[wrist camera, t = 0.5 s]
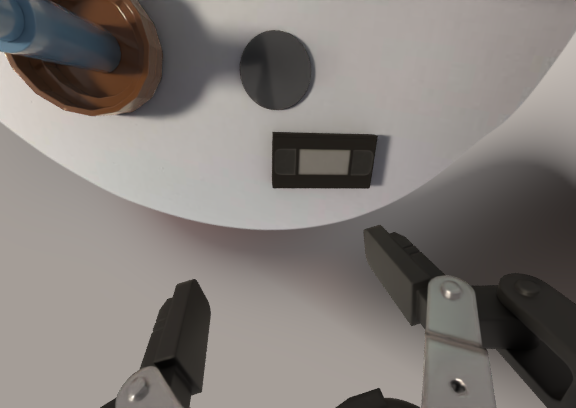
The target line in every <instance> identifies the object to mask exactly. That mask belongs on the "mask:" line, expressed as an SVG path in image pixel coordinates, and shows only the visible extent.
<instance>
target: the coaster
mask: <svg viewBox="0 0 576 408" xmlns="http://www.w3.org/2000/svg"><path fill="white" fill-rule="evenodd" d="M240 76H241V80H242V84H243V86H244V89H245V90H246V92H247V94H248V95H249V96H250V98H251V99H252V100H253V101H255V102H256V103H257V104H259V105H260V106H262V107H264V108H267V109H272V110H282V109H286V108H288V107H291V106H293V105H294V104H296V103H297V102H298V101H299V100H300V99H301V98H302V97H303V95H304V94H305V92H306V90H307V88H308V86H309V82H310V77H311V65H310V60H309V57H308V54H307V52H306V50H305V48H304V47H303V45H302V44H301V43H300V42H299V41H298V40H297V39H296V38H295V37H294V36H292V35H290V34H289V33H286V32H283V31H278V30H271V31H266V32H263V33H261V34H259V35H257V36H256V37H254V38H253V39H252V40H251V41H250V42H249V43H248V45H247V46H246V48H245V50H244V52H243V54H242V57H241V62H240Z"/></svg>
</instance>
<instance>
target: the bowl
mask: <svg viewBox="0 0 576 408" xmlns="http://www.w3.org/2000/svg"><path fill="white" fill-rule="evenodd" d="M52 1H54V2H56V3H57V4H59V5H61V6H63V7H65V8H67V9H69V10H71V11H73V12H75V13H77V14H79V15H81V16H83V17H85V18H87V19H89V20H91V21H93V22H95V23H97V24H99V25H100V26H102V27H104V28H106V29H107V30H108V31H110V32H111V33H112V34H113V36H114V37H115V38H116V40H117V42H118V44H119V47H120V51H121V59H120V63H119V65H118V66H117V68H116V69H115V70H113V71H112V72H109V73H97V72H92V71H88V70H83V69H78V68H74V67H69V66H65V65H60V64H55V63H51V62H46V61H42V60H37V59H32V58H28V57H23V56H18V55H14V54H9V53H5V52H4V53H5V55H6V57H7V59H8V61H9V63H10V65H11V67H12V68H13V70H14V71H15V72H16V73H17V74H18V75H19V76H20V77H21V78H22V79H23V80H24V81H25V83H26V84H27V85H28V86H29V87H30V88H31V89H32V90H33V91H34V92H35V93H36V94H37V95H39V96H41V97H42V98H44V99H46V100H48V101H49V102H51V103H53V104H54V105H56V106H58V107H60V108H61V109H63V110H65V111H70V112H75V113H79V114H84V115H89V116H108V115H116V114H122V113H128V112H133V111H135V110H136V109H138V108H139V107H140V106H142V105H143V104H144V103H146V102H147V101H149V100H150V99H151V98H152V96H153V94H154V92H155V90H156V88H157V86H158V84H159V82H160V80H161V76H162V58H163V53H162V48H161V45H160V42H159V38H158V35H157V32H156V29H155V25H154V23H153V22H152V21H151V19H150V18H149V16H148V15H147V13H146V12H145V10H144V9H143V8H142V6H141V5H140V3H139V2H138V0H52Z"/></svg>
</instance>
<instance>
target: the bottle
mask: <svg viewBox="0 0 576 408" xmlns="http://www.w3.org/2000/svg"><path fill="white" fill-rule="evenodd" d="M0 51H1V52H5V53H9V54H14V55H18V56H23V57H28V58H32V59H37V60H42V61H46V62H51V63H55V64H60V65H65V66H69V67H74V68H78V69H83V70H88V71H92V72H97V73H109V72H112V71H113V70H115V69H116V68H117V66H118V65H119V63H120V59H121V51H120V47H119V44H118V42H117V40H116V38H115V37H114V36H113V34H112V33H111V32H110V31H108V30H107V29H106V28H104V27H102V26H100V25H99V24H97V23H95V22H93V21H91V20H89V19H87V18H85V17H83V16H81V15H79V14H77V13H75V12H73V11H71V10H69V9H67V8H65V7H63V6H61V5H59V4H57V3H56V2H54V1H52V0H0Z"/></svg>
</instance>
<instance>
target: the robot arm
mask: <svg viewBox="0 0 576 408" xmlns="http://www.w3.org/2000/svg"><path fill="white" fill-rule="evenodd" d="M364 242H365V254H366V258H367V261H368V264H369V265H370V267H371V269H372V270H373V272H374V273H375V275H376V276H377V277H378V279H379V280H380V282H381V283H382V284H383V286H384V287H385V289H386V290H387V292H388V293H389V295H390V296H391V298H392V299H393V300H394V302H395V303H396V305H397V306H398V307H399V309H400V310H401V312H402V313H403V315H404V316H405V318H406V319H407V320H408V322H409V323H410V325H411V326H413V325H416V324H420V323H421V325H422V326H423V327H424V329H425V345H424V366H423V386H422V405H421V408H496V402H495V395H494V389H493V382H492V375H491V368H490V361H489V356H488V352H487V350H486V348H487V349H488V348H489V349H496V350H497V351H498V352H499V353H500V354H501V355H502V356H503V358H504V359H505V360H506V361H507V362H508V363H509V364H510V366H511V367H512V368H513V369H514V370H515V371H516V372H517V374H518V375H519V376H520V377H521V378H522V379H523V381H524V382H525V383H526V384H527V385H528V386H529V387H530V389H532V391H533V392H534V393H535V394H536V395H537V397H538V398H539V399H540V400H541V401H542V402H543V403H544V405H545V406H546V407H547V408H576V304H575V303H573V302H572V301H571V300H569V299H568V298H566V297H565V296H564V295H562V294H561V293H560V292H558V291H557V290H555V289H554V288H553V287H551V286H550V285H548V284H547V283H545V282H543V281H542V280H540V279H538V278H536V277H533V276H530V275H525V274H519V273H513V274H507V275H505V276H503V277H502V278H501V279H500V282H499V285H492V286H491V285H490V286H471V285H469V284H467V283H466V282H465V281H463V280H461V279H459V278H456V277H453V276H446V275H445V274H444V273H443V272H442V271H441V270H439V269H438V268H437V267H436V266H435V265H434V264H433V263H432V262H431V261H430V260H429V259H428V258H427V257H426V256H425V255H423V253H422V252H420V251H419V250H418V249H417V248H416V247H415V246H413V244H412V243H411V242H410V241H409V240H408V239H407V238H406V237H404V236H402V235H400V234H398V233H395V232H393V233H390V234H389V233H388V232H387V231H386V230H385V229H384V228H383V227H382V226H381V225H378V226H374V227H371V228H367V229H365V230H364ZM210 316H211V311H210V306H209V302H208V300H207V298H206V297H205V295H204V293H203V291H202V289H201V287H200V285H199V284H198V282H197V280H195V279H193V280H189V281H186V282H182V283H179V284H177V285H176V288H175V292H174V295H173V298H169V299H167V301H166V302H165V303H164V305H163V306H162V307H161V309H160V311H159V314H158V316H157V320H156V323H155V325H154V328H153V333H152V334H151V337H150V340H149V343H148V346H147V349H146V352H145V355H144V358H143V361H142V364H141V367H140V370H138V371H137V372H135V373H134V374H133V375H132V376H130V377H129V378H128V379H127V381H126V382H125V383H124V384H123V386H122V387H121V389H120V391H119V393H118V395H117V397H116V398H115V399H113V400H112V401H110V402H108V403H107V404H105V405H104V406H102V407H100V408H190V407H189V406H190V399H191V395H194V394H197V393H201V392H202V385H203V376H204V367H205V359H206V351H207V342H208V333H209V325H210ZM336 408H420V407H418V406H416V405H414V404H411V403H409V402H407V401H403V400H399V399H394V398H384V397H383V395H382V392H381V390H380V388H377V389H374V390H371V391H369V392H366V393H362V394H359V395H357V396H353V397H350V398H348V399H347V400H346V401H344V402H343V403H342V404H340V405H339V406H337V407H336Z"/></svg>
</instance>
